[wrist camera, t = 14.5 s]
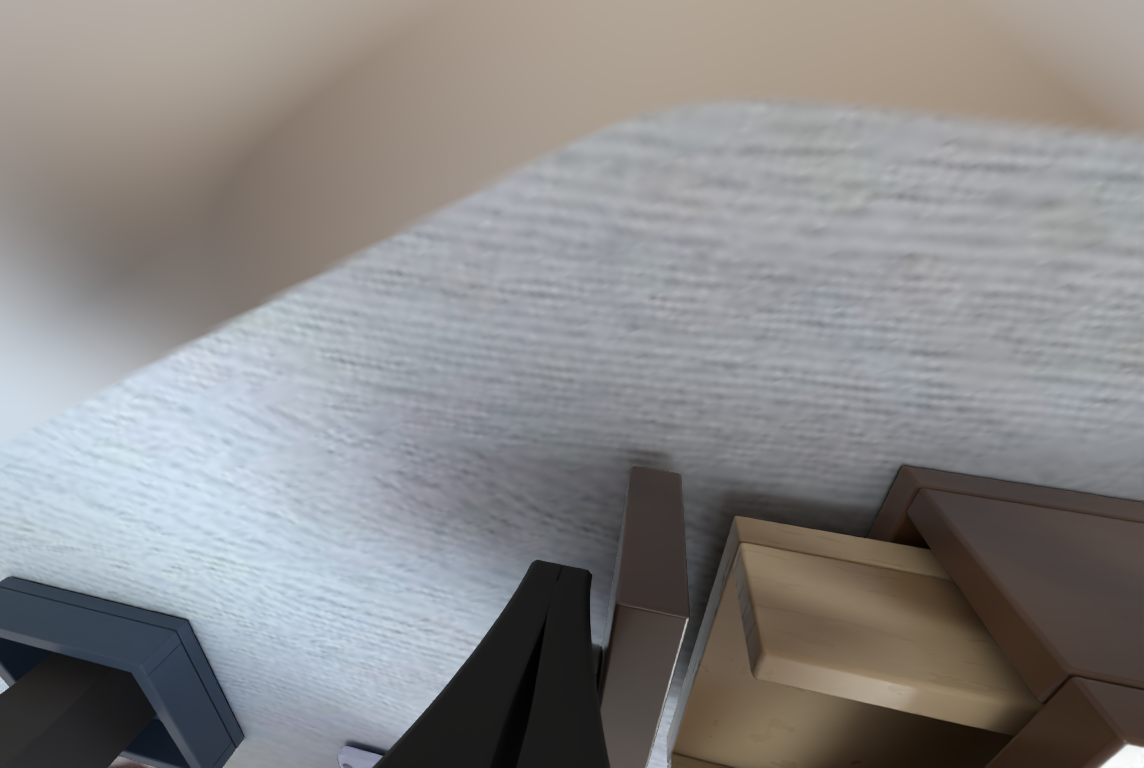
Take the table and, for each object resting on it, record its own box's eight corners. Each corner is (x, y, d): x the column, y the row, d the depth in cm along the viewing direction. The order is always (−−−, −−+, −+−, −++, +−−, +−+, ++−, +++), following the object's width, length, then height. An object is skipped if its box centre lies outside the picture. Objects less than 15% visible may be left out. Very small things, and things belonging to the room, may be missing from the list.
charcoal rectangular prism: (166, 705, 22) (28, 853, 18) (112, 690, 23) (-37, 831, 18) (133, 649, 20) (-34, 800, 16) (75, 634, 21) (-105, 776, 16)
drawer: (556, 710, 16) (527, 860, 12) (581, 455, 11) (543, 586, 7) (1024, 825, 14) (1144, 1041, 10) (1314, 577, 9) (1723, 833, 5)
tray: (244, 738, 24) (210, 784, 22) (93, 695, 25) (50, 735, 23) (187, 619, 19) (139, 665, 18) (8, 576, 21) (-54, 614, 19)
